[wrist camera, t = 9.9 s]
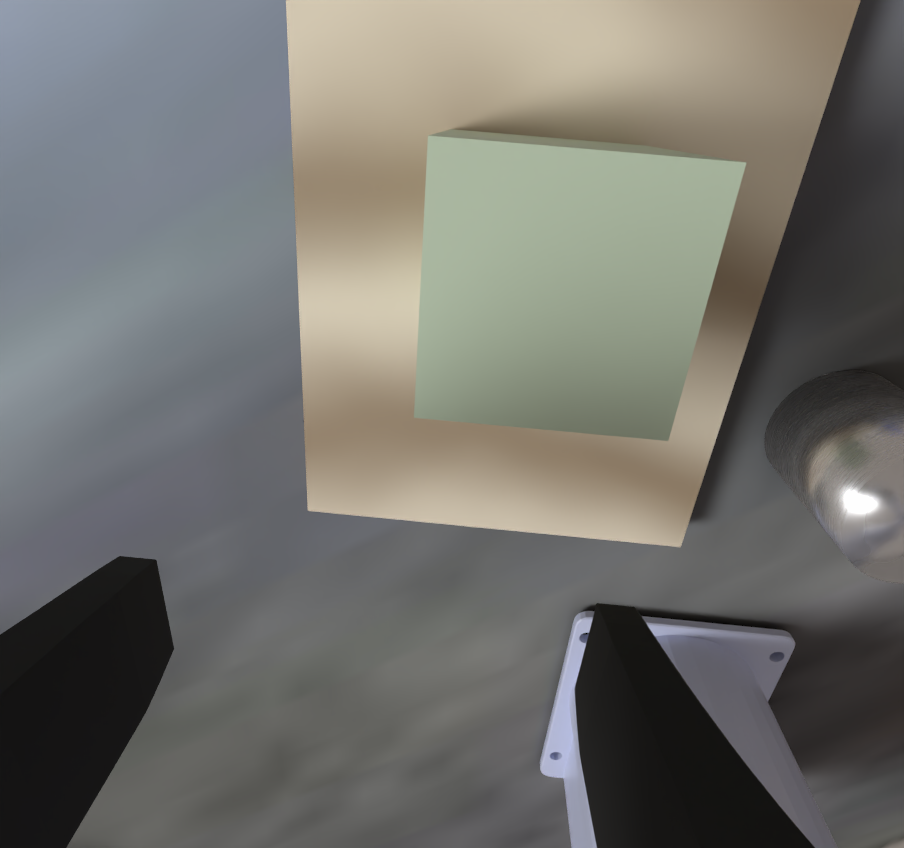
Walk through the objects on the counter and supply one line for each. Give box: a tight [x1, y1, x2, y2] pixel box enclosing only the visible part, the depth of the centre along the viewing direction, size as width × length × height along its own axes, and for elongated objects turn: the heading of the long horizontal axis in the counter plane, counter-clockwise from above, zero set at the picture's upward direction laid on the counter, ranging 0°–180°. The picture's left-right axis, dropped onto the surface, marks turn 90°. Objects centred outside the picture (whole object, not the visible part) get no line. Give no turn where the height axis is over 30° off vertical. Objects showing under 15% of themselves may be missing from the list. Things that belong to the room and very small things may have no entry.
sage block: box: [414, 129, 746, 441], centre depth 12 cm, size 4×4×6 cm
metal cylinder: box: [765, 370, 904, 583], centre depth 16 cm, size 4×4×4 cm
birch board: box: [286, 0, 861, 547], centre depth 15 cm, size 18×12×1 cm, turn 176°
